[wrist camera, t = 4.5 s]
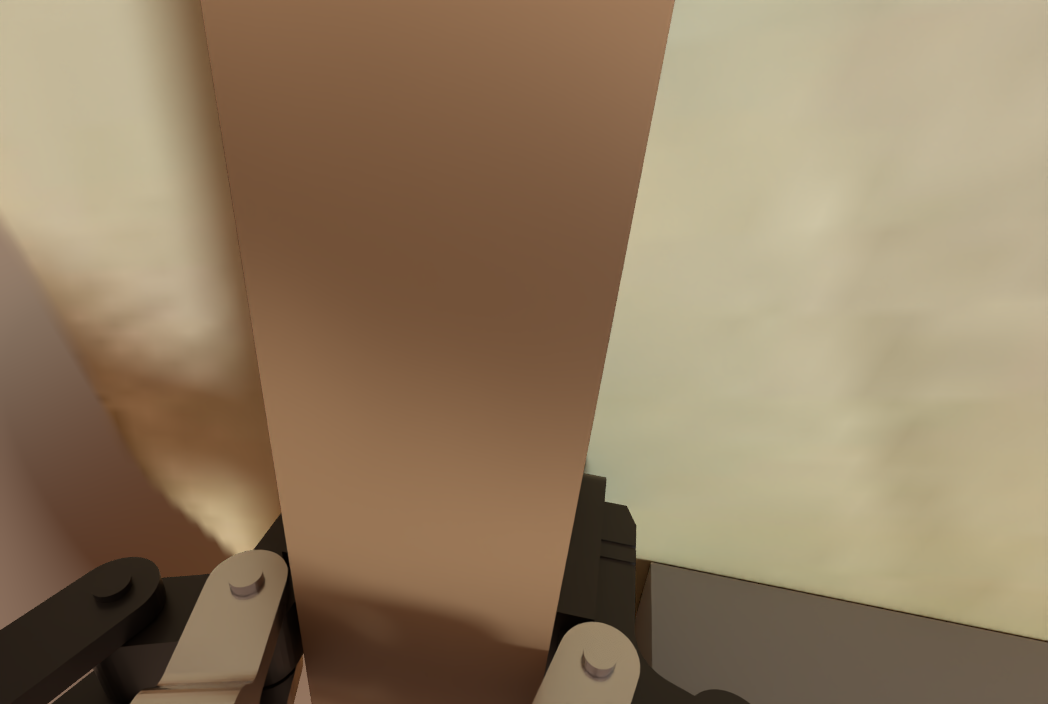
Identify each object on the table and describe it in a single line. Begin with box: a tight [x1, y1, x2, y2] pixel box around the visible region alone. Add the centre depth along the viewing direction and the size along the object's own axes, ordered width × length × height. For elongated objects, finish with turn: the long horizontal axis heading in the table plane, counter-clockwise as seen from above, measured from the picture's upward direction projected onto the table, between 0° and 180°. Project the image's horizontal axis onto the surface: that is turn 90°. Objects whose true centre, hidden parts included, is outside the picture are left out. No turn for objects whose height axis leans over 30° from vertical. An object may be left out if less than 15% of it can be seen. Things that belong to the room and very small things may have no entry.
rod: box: [200, 0, 675, 704], centre depth 11 cm, size 24×4×5 cm, turn 175°
